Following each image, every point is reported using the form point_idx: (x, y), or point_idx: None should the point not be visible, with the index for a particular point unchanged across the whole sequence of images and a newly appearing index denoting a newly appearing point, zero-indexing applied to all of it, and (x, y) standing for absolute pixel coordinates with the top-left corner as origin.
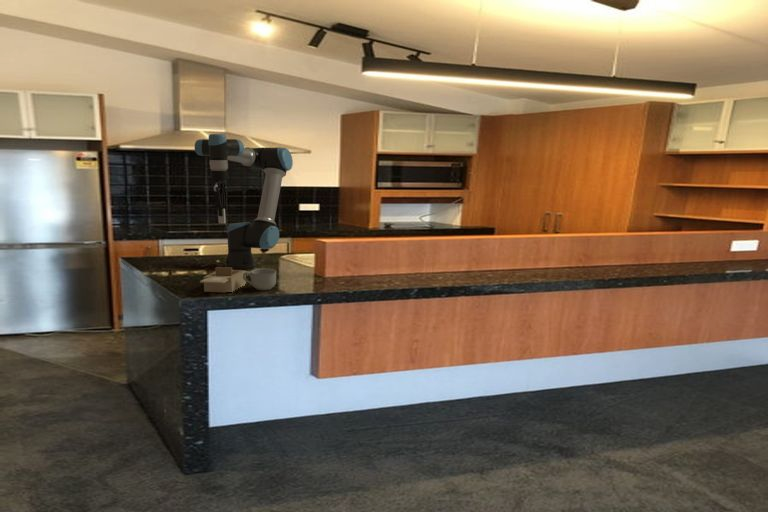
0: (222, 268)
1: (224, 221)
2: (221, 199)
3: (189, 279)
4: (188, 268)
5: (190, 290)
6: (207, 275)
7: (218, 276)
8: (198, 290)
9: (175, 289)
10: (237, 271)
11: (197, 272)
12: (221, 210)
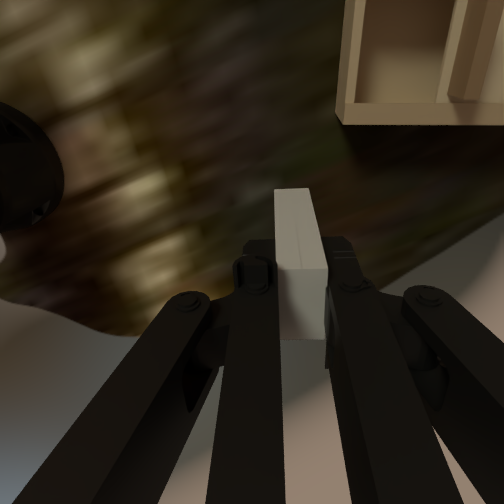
0: (489, 53)
1: (308, 195)
2: (422, 404)
3: None
4: (113, 321)
5: (466, 174)
6: (496, 120)
7: (488, 67)
8: (468, 145)
9: (445, 230)
10: (363, 13)
11: (162, 273)
12: (360, 275)
